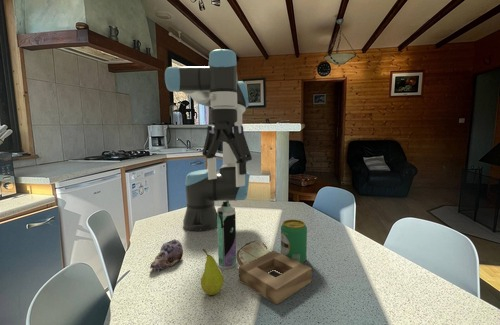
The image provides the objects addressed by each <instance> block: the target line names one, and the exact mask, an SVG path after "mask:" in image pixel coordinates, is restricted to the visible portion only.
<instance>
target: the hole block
mask: <svg viewBox="0 0 500 325" xmlns="http://www.w3.org/2000/svg"><path fill="white" fill-rule="evenodd" d="M237 269H238V281H239V282H240V283H242V284H243V285H245V286H247V287H249V288H250V289H252V290H253V291H255V292H256V293H257V294H258V295H260V296H262V297H263V298H264V299H266V300H268V301H269V302H271V303H273V304H274V305H275V306H277V305H279V304H280V303H282V302H283V301H284V300H287V298H290V297H291V296H292V295H294V294H295V293H297V292H298V291H300V290H301V289H303V288H304V287H306V286H307V285H308V284H310V283H311V282H312V270H313V269H312V267H310V266H308V265H306V264H304V263H303V264H302V263H300V262H297V261H295V260H293V259H291V258H289V257H287V256H284V255H282V254H281V252H278V251H275V250H271V251H269V252H268V253H265V254H264V255H261V256H258V257H257V258H254V259H252V260H250V261H249V262H246V263H243V264H242V265H240V266H238V268H237ZM272 270H276V271H278V272H280V273H282V274H281V275H280V274H278V276H276V277H275V276H273V275H272V274H271V273H270V274H268V272H270V271H272Z"/></svg>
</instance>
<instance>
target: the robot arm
mask: <svg viewBox="0 0 500 325" xmlns="http://www.w3.org/2000/svg"><path fill="white" fill-rule="evenodd" d="M208 57H209V58H208V66H205V65H204V66H179V65H176V66H169V67H166V69H165V71H164V82H165V86H166V89H167V91H169V92H172V93H173V92H174V93H184V94H186V95H188V96H189V97H191V99H192V100H193V102H195V103H196V104H199V105H202V106H205V107H208V108H212V109H211V110H210V122H211V123H212V124H213V123H214V125H208V126H207V127H206V128H207V132H206V137H205V141H204V145H203V148H202V153H201V154H202V156H205V158H206V163H207V164H206V166H207V168H206V169H200V170H199V169H198V170H195V171H191V172H189V173H188V174H187V175H186V176H185V184H184V186H185V196H186V197H185V199H186V210H185V213H184V217H183V225H182V226H183V228H184V229H186V230H187V231H192V232H204V231H209V230H213V229H215V228H217V209H216V207H215V206H216V205H215V204H216V203H215V202H219V201H221V202H225V201H229V202H230V201H231V202H232V201H233V202H237V201H245V200H246V199H247V198H248V193H249V185H250V178H251V176H250V175H251V174H250V172H248V171H247V162H249V161H252V159H253V157H252V155H251V152H250V148H249V145H248V142H247V140H246V136H245V133H244V125H243V114H244V113H245V112H246V109H247V108H248V107H249V105H250V102H249V94H248V87H247V84H246V82H245V81H243V80H241V81H239V79H238V78H239V77H238V71H237V69H238V68H237V54H236V52H234V50H231V49H225V48H224V49H223V48H222V49H221V48H219V49H214V50H211V51H210V52H209V54H208ZM221 144H222V165H221V166H220V167H219V169H218V170H219V172H217V158H216V157H217V156H216V154H217V152H218V150H219V148H220V146H221Z"/></svg>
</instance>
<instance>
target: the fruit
mask: <svg viewBox="0 0 500 325" xmlns="http://www.w3.org/2000/svg"><path fill="white" fill-rule="evenodd" d="M202 251H203V252H204V253H205V255H206V261H205V264H204V270H203V273H202V275H201V278H200V287H201V289H202V291H203V293H205V294H206V295H209V296H214V295H217V294H218V293H219V292H220V291H221V290H222V288H223V286H224V275H223V273H222V272H221V270H220V267H219V265H218V263H217V261H216V259H215V258H214V256H212V255H211V254H208V252H207V250H206V249H204V248H203V249H202Z"/></svg>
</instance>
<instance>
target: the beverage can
mask: <svg viewBox="0 0 500 325" xmlns="http://www.w3.org/2000/svg"><path fill="white" fill-rule="evenodd" d="M307 237H308V228H307V226H306V223H305V222H304V221H302V220H300V219H292V218H291V219H287V220H283V222H282V224H281V226H280V254H282V255H284V256H287V257H289V258H291V259H293V260H295V261H297V262H300V263H302V264H304V263H305V262H306V260H307V253H308V252H307V249H308V248H307V245H308V242H307V240H308V238H307Z"/></svg>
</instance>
